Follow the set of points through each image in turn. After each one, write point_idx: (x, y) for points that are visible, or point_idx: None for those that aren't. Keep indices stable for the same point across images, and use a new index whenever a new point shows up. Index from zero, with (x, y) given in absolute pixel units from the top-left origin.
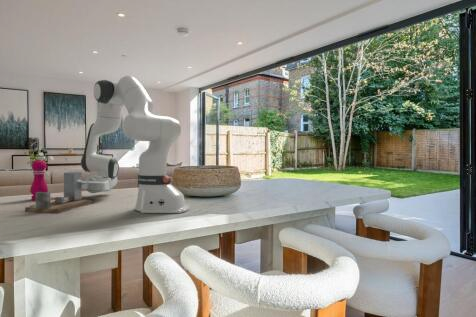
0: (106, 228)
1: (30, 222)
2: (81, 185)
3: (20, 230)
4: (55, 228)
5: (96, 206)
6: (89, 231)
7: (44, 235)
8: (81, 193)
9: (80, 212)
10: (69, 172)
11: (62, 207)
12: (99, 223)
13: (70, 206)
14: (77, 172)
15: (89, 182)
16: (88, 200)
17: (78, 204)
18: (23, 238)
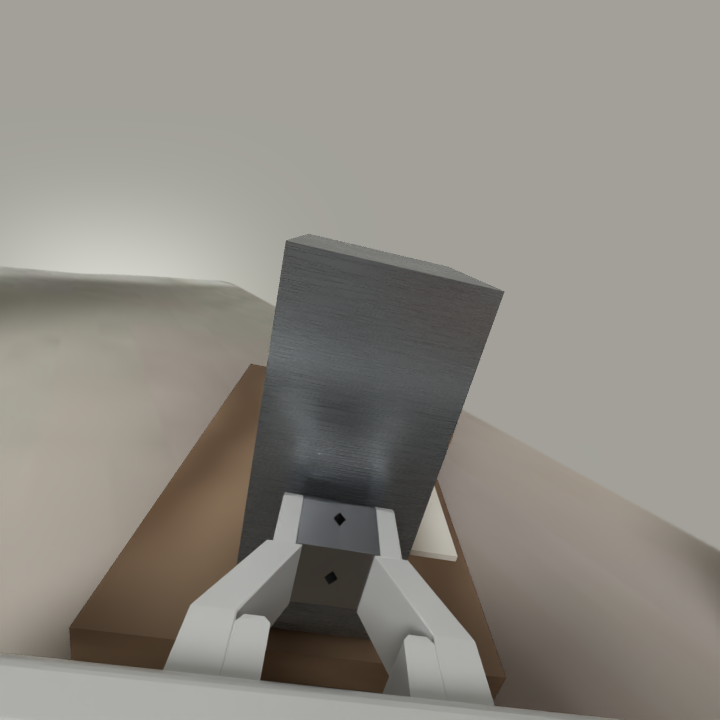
0: (42, 276)
1: (269, 329)
2: (252, 463)
3: (250, 305)
4: (180, 298)
5: (25, 492)
6: (91, 277)
7: (186, 285)
8: (237, 563)
9: (145, 377)
10: (445, 271)
11: (248, 380)
12: (58, 295)
13: (223, 405)
14: (339, 249)
15: (117, 676)
16: (117, 580)
17: (193, 452)
18: (216, 286)
